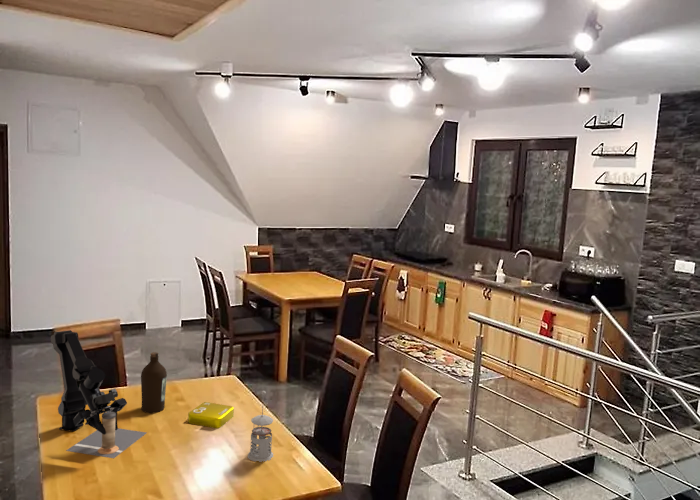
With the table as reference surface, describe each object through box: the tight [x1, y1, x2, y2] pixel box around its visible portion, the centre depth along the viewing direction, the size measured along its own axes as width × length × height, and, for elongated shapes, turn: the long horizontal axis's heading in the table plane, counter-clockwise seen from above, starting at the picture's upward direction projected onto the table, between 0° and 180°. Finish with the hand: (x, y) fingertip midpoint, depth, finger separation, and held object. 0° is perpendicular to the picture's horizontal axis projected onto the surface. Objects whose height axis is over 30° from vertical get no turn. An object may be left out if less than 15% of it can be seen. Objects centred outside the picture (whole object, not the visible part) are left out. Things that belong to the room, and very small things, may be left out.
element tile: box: [187, 401, 235, 429], centre depth 242 cm, size 15×15×5 cm
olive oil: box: [140, 351, 168, 414], centre depth 248 cm, size 11×11×25 cm
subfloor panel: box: [65, 427, 147, 459], centre depth 213 cm, size 19×22×2 cm
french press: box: [247, 390, 274, 463], centre depth 212 cm, size 10×12×25 cm
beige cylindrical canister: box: [101, 412, 116, 449], centre depth 206 cm, size 5×5×12 cm
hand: (110, 431), depth 205 cm, fingers closed on beige cylindrical canister, 4 cm apart
